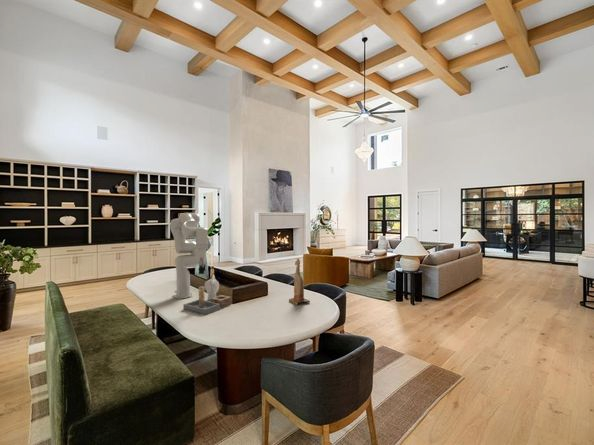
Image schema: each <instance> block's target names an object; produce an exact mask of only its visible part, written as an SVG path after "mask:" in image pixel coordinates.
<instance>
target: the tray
mask: <svg viewBox="0 0 594 445" xmlns="http://www.w3.org/2000/svg"><path fill="white" fill-rule="evenodd" d="M219 310H221V308H220V304H218V303H213V302H211V301H210V300H205V308H199V299H196V300H193V301H191V302H187V303H184V304H183V311H187V312H192V313H196V314H199V315H203V316H206V315H208V314H211V313H214V312H216V311H219Z"/></svg>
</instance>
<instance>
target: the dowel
mask: <svg viewBox="0 0 594 445" xmlns="http://www.w3.org/2000/svg"><path fill="white" fill-rule="evenodd" d="M205 298H206V297H205V286H199V287H198V300H199V308H205V301H206V300H205Z"/></svg>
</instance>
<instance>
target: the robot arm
mask: <svg viewBox="0 0 594 445" xmlns="http://www.w3.org/2000/svg"><path fill="white" fill-rule="evenodd" d="M200 219H201V218H200V215H199V214H198V213H197V212H183V213H181V214H179V216H178V217H177V218H174V219H171V221H170V222H169V228H170V231H171V234H172V235H173V240H174V248H175V252H176V254H177V255H178V256H176V257H175V259H174V265H175V270H176V271H175V272H176V274H175V276H176V277H175V278H176V279H175V280H176V290H175V291H174V293H175V294H174V298H175V299H179V300H181V299H188V298H189V299H190V298H191V297H193V293H191V274H190V271H189V270H188V269H187V268H191V267H197V266H198V275H204V274H205V271H206V261H207V249H209V241H208V239H209V238H208V237H209V236H208V235H209V234H208V232H209V231H208V228H206V227H204V226H203V227H202V226H197V225H198V224H199V222H200ZM187 239H195V241H194V240H187Z"/></svg>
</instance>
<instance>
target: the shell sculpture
mask: <svg viewBox="0 0 594 445" xmlns="http://www.w3.org/2000/svg"><path fill="white" fill-rule="evenodd" d="M219 289H220V283H219V281H218V280H216V277H215V274H212V276H211V277H210V279H209V280H207V281H205V282H204V290H205V291H206V292H207V301H209V302H211V298H214V297H217V293H218V292H219Z"/></svg>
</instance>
